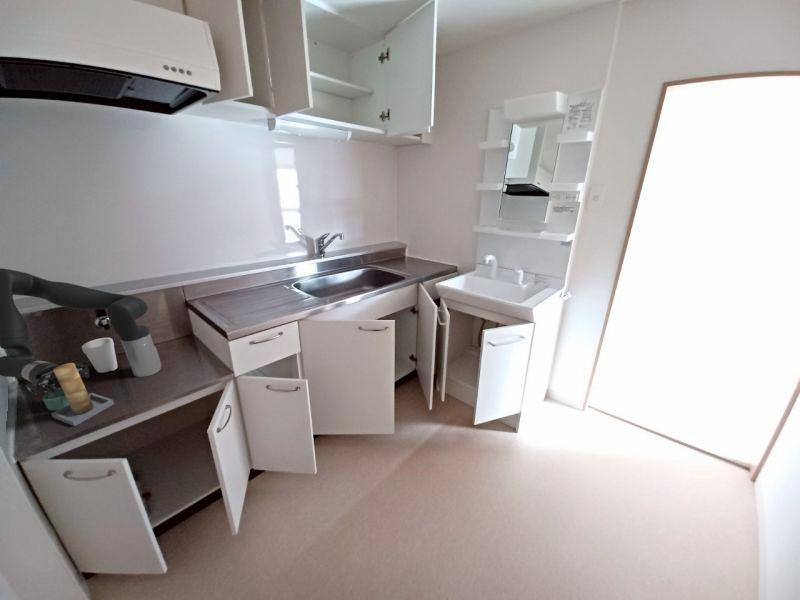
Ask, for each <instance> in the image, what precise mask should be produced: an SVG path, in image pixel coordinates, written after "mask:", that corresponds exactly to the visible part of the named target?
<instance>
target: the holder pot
mask: <svg viewBox="0 0 800 600" xmlns="http://www.w3.org/2000/svg"><path fill="white" fill-rule="evenodd" d="M57 390H58V392H57V393H49V392H46V394H44V395H43V397H42V399H41V400H43V403H44V404H45V406H46V408H47V409H48V410H49V411H57V410H59V409H61V408H63V407H65V406H67V405H69V402H68V400H67V398H66V396H65V394H64V392H63V390H62V387H61V386H60V387H58V388H57Z"/></svg>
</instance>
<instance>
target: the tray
mask: <svg viewBox="0 0 800 600" xmlns="http://www.w3.org/2000/svg"><path fill="white" fill-rule="evenodd" d="M88 395H89V397H90V399H91V401H92V403H93V406H94V408H93V409H92V410H91V411H89V412H87V413H85V414H82V415H75V414H74V412H73V410H72V408H71V406H70V404H69V405H67V406H65V407H63V408H61V409H59V410H54V412H53V411H52V413H50V414H51V417H52V418H53V419H55V420H58V421H60V422H63V423H66V424H68V425H71V426H74V427H76V426H78V425H79V424H82V423H83V422H85V421H86V420H88V419H90V418H92V417H93V416H95V415H97V414H99V413H101V412H103V411H104V410H106V409H108V408H110V407H111V406H113V405H114V404H115V402H114V399H112V398H109V397H106V396H103V395H99V394H97V393H94V392H90V393H88Z"/></svg>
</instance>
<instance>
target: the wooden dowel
mask: <svg viewBox="0 0 800 600" xmlns="http://www.w3.org/2000/svg"><path fill="white" fill-rule="evenodd" d="M53 371H54V373H55V375H56V377H57V379H58V381H59V383H58V384H59V385H60V388H61V387H62V390H63V392H64V394H65V396H66V398H67V400H68V402H69V404H70V406H71V408H72V410H73V412H74V414H75V415H82V414H85V413H87V412H89V411H91V410H92V409H93V408H94V406H93V403H92V401H91V399H90V397H89V392H88V391H87V388H86V385H85V383H84V381H83V380H82V377H81V376H80V375H79V373H78V370H77V368H76V366H75V363H74V362H69V363H68V362H67V363H64V364H60V365H59V366H58V367H56V368H55V369H54V370H53Z"/></svg>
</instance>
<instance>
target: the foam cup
mask: <svg viewBox="0 0 800 600" xmlns="http://www.w3.org/2000/svg"><path fill="white" fill-rule="evenodd" d="M81 350H82V352H83V354H85V356H86V357H87V358H88V360H89V361H90V363H91V364H92V366H93V368H94V369H95V371H96V372H98V373H100V374H102V373H108V372H110V371H112V372H113V371H115V370H116V369H118V361H117V356H116V350H115V343H114V340H113V338H112V337H101V338H96V339H92V340H90V341H88V342H85V343H84V344H83V345H82V346H81Z"/></svg>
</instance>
